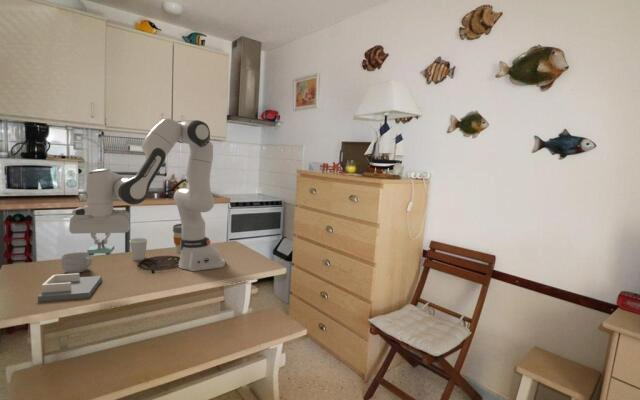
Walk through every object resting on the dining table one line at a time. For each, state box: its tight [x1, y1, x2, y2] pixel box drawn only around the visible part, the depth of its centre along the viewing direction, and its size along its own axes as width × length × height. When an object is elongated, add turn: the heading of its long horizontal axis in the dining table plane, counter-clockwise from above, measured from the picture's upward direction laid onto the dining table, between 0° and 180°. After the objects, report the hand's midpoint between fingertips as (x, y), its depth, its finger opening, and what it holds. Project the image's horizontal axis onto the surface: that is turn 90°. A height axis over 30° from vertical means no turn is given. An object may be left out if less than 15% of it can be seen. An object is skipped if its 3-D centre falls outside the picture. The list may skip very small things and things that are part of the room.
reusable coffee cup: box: [172, 223, 182, 255], centre depth 191 cm, size 13×13×15 cm
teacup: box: [61, 251, 93, 274], centre depth 153 cm, size 14×11×8 cm
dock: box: [37, 272, 103, 303], centre depth 134 cm, size 16×18×5 cm
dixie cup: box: [129, 237, 148, 261], centre depth 175 cm, size 8×8×10 cm
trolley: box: [86, 238, 115, 256], centre depth 135 cm, size 8×6×6 cm
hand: (100, 243), depth 135 cm, fingers closed on trolley
